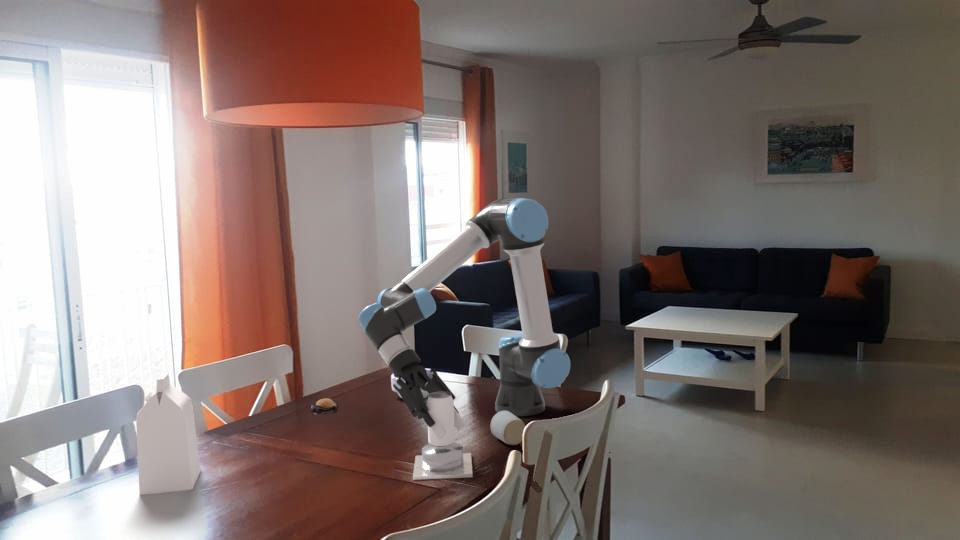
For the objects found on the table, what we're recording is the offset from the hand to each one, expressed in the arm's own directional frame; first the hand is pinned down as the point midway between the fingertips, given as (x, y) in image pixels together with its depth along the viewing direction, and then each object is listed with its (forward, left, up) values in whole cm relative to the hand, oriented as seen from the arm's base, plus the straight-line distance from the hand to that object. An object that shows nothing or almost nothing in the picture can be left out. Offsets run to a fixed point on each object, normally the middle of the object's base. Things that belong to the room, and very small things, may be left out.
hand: (452, 431), depth 178 cm
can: (+3, -2, -4) cm, 5 cm away
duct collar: (+3, -2, -10) cm, 10 cm away
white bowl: (+13, -67, -10) cm, 69 cm away
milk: (+68, -1, -10) cm, 68 cm away
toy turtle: (+41, -57, -10) cm, 71 cm away
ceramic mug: (-16, -19, -10) cm, 27 cm away
